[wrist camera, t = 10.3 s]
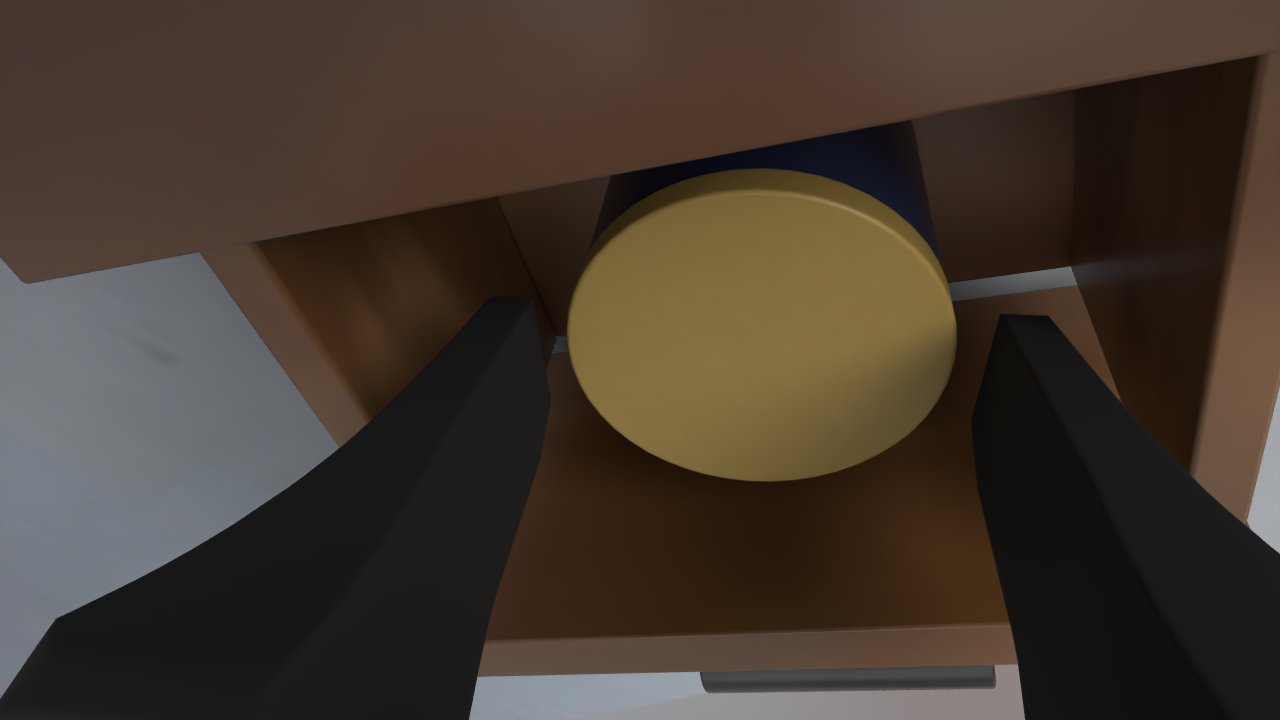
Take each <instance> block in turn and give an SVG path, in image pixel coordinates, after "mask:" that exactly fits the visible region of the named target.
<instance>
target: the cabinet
mask: <svg viewBox="0 0 1280 720" xmlns="http://www.w3.org/2000/svg"><path fill="white" fill-rule="evenodd" d="M1279 51H1280V0H0V258H1V259H2V260H3V261H4V262H5V263H6V264H7V265H8V266H9V268H10V269H11V270H12V271H13V272H14V273H15V274H16V275H17V277H18V278H19V279H20V280H21V281H22V282H24V283H27V284H29V283H35V282H40V281H46V280H51V279H56V278H62V277H67V276H73V275H78V274H83V273H89V272H94V271H99V270H105V269H110V268H116V267H121V266H126V265H132V264H137V263H143V262H148V261H153V260H159V259H164V258H169V257H175V256H180V255H186V254H191V253H196V252H202V251H207V250H213V249H218V248H223V247H229V246H234V245H239V244H245V243H250V242H256V241H261V240H266V239H272V238H277V237H283V236H288V235H293V234H299V233H304V232H309V231H315V230H320V229H326V228H331V227H336V226H342V225H347V224H353V223H358V222H363V221H369V220H374V219H379V218H385V217H390V216H396V215H401V214H406V213H412V212H417V211H423V210H428V209H433V208H439V207H444V206H449V205H455V204H460V203H466V202H471V201H476V200H482V199H487V198H493V197H498V196H503V195H509V194H514V193H519V192H525V191H530V190H536V189H541V188H546V187H552V186H557V185H563V184H568V183H573V182H579V181H584V180H589V179H595V178H600V177H606V176H611V175H616V174H622V173H627V172H633V171H638V170H643V169H649V168H654V167H660V166H665V165H670V164H676V163H681V162H686V161H692V160H697V159H703V158H708V157H713V156H719V155H724V154H730V153H735V152H740V151H746V150H751V149H756V148H762V147H767V146H773V145H778V144H783V143H789V142H794V141H800V140H805V139H810V138H816V137H821V136H826V135H832V134H837V133H843V132H848V131H853V130H859V129H864V128H870V127H875V126H880V125H886V124H891V123H896V122H902V121H907V120H913V119H918V118H923V117H929V116H934V115H940V114H945V113H950V112H956V111H961V110H966V109H972V108H977V107H983V106H988V105H993V104H999V103H1004V102H1010V101H1015V100H1020V99H1026V98H1031V97H1036V96H1042V95H1047V94H1053V93H1058V92H1063V91H1069V90H1074V89H1080V88H1085V87H1090V86H1096V85H1101V84H1106V83H1112V82H1117V81H1123V80H1128V79H1133V78H1139V77H1144V76H1150V75H1155V74H1160V73H1166V72H1171V71H1176V70H1182V69H1187V68H1193V67H1198V66H1203V65H1209V64H1214V63H1220V62H1225V61H1230V60H1236V59H1241V58H1247V57H1252V56H1257V55H1263V54H1268V53H1273V52H1279Z"/></svg>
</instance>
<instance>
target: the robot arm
mask: <svg viewBox="0 0 1280 720" xmlns="http://www.w3.org/2000/svg"><path fill="white" fill-rule="evenodd" d="M550 403H551V397H550V391H549V386H548V380H547V374H546V369H545V363H544V357H543V352H542V346H541V340H540V335H539V329H538V323H537V318H536V312H535V306H534V300H533V298H527V297H498V296H492V297H491V298H490V299H489V300H488V301H486V302H485V304H484V305H483V306H482V307H481V308H480V309H479V310H478V311H477V312H476V313H475V314H474V315H473V316H472V317H471V318H470V320H469V321H468V322H467V323H466V324H465V325H464V326H463V327H462V328H461V329H460V330H459V332H458V333H457V334H456V335H455V336H454V337H453V338H452V339H451V340H450V341H449V342H448V344H447V345H446V346H445V347H444V348H443V349H442V350H441V351H440V352H439V353H438V354H437V355H436V356H435V357H434V359H433V360H432V361H431V362H430V363H429V364H428V365H427V366H426V367H425V368H424V369H423V370H422V371H421V372H420V373H419V374H418V375H417V376H416V377H415V378H414V379H413V380H412V381H411V382H410V383H409V384H408V385H407V386H406V387H405V388H404V389H403V390H402V391H401V392H400V393H399V394H398V395H397V396H396V397H395V398H394V399H393V400H392V401H391V402H390V403H389V404H388V405H387V406H386V407H384V408H383V409H382V410H381V411H380V412H379V413H378V414H377V415H376V416H375V417H374V418H373V419H372V420H370V421H369V422H368V423H367V424H366V425H365V426H364V427H363V428H362V429H361V430H360V431H359V432H357V433H356V434H355V435H354V436H353V437H352V438H351V439H349V440H348V441H347V442H346V443H345V444H344V445H342V446H341V447H340V448H339V449H338V450H337V451H335V452H334V453H333V454H332V455H330V456H329V457H328V458H327V459H325V460H324V461H323V462H321V463H320V464H319V465H318V466H316V467H315V468H314V469H312V470H311V471H310V472H308V473H307V474H306V475H305V476H303V477H302V478H301V479H299V480H298V481H297V482H295V483H294V484H292V485H291V486H290V487H288V488H287V489H285V490H284V491H282V492H281V493H279V494H278V495H276V496H275V497H273V498H272V499H270V500H269V501H267V502H266V503H265V504H263V505H262V506H260V507H259V508H257V509H256V510H254V511H253V512H251V513H250V514H248V515H247V516H245V517H244V518H242V519H241V520H239V521H238V522H236V523H235V524H233V525H232V526H230V527H229V528H227V529H225V530H224V531H222V532H220V533H219V534H217V535H215V536H214V537H212V538H210V539H209V540H207V541H205V542H204V543H202V544H200V545H199V546H197V547H195V548H194V549H192V550H190V551H188V552H186V553H185V554H183V555H181V556H179V557H178V558H176V559H174V560H172V561H170V562H169V563H167V564H165V565H163V566H162V567H160V568H158V569H156V570H154V571H152V572H150V573H148V574H147V575H145V576H143V577H141V578H139V579H137V580H135V581H133V582H131V583H129V584H127V585H125V586H123V587H121V588H119V589H117V590H115V591H113V592H111V593H108V594H106V595H104V596H102V597H100V598H98V599H96V600H94V601H92V602H90V603H88V604H86V605H84V606H82V607H80V608H78V609H76V610H74V611H72V612H70V613H67V614H65V615H63V616H61V617H59V618H56V620H55V621H54V623H53V624H52V625H51V627H50V628H49V629H48V631H47V632H46V633H45V635H44V636H43V638H42V639H41V641H40V642H39V644H38V645H37V646H36V648H35V649H34V651H33V652H32V654H31V655H30V657H29V658H28V660H27V661H26V662H25V664H24V665H23V667H22V668H21V670H20V671H19V673H18V674H17V676H16V677H15V678H14V680H13V681H12V683H11V684H10V686H9V687H8V689H7V690H6V692H5V693H4V695H3V696H2V697H1V699H0V720H469V716H470V711H471V706H472V701H473V696H474V691H475V686H476V681H477V676H478V671H479V667H480V662H481V657H482V653H483V648H484V643H485V639H486V634H487V629H488V625H489V620H490V616H491V613H492V609H493V606H494V602H495V598H496V595H497V591H498V588H499V585H500V582H501V579H502V576H503V573H504V570H505V567H506V564H507V561H508V558H509V555H510V552H511V549H512V545H513V542H514V539H515V536H516V533H517V530H518V527H519V524H520V521H521V518H522V515H523V512H524V509H525V506H526V503H527V500H528V497H529V493H530V490H531V487H532V484H533V481H534V478H535V475H536V471H537V468H538V465H539V462H540V457H541V452H542V447H543V442H544V437H545V432H546V426H547V420H548V415H549V409H550ZM971 429H972V440H973V451H974V461H975V470H976V479H977V488H978V492H979V497H980V501H981V505H982V510H983V514H984V518H985V522H986V527H987V531H988V535H989V539H990V544H991V548H992V552H993V556H994V560H995V564H996V568H997V572H998V577H999V581H1000V585H1001V589H1002V593H1003V597H1004V601H1005V606H1006V610H1007V614H1008V618H1009V622H1010V626H1011V630H1012V635H1013V640H1014V645H1015V651H1016V656H1017V661H1018V667H1019V675H1020V683H1021V690H1022V698H1023V706H1024V714H1025V720H1280V554H1279V553H1278V552H1277V551H1275V550H1274V549H1273V548H1272V547H1271V546H1269V545H1268V544H1267V543H1266V542H1265V541H1263V540H1262V539H1261V538H1260V537H1259V536H1258V535H1256V534H1255V533H1254V532H1253V531H1252V530H1251V529H1249V528H1248V527H1247V526H1246V525H1245V524H1243V523H1242V522H1241V521H1240V520H1239V519H1238V518H1236V517H1235V516H1234V515H1233V514H1232V513H1231V512H1229V511H1228V510H1227V509H1226V508H1225V507H1224V506H1223V505H1222V504H1220V503H1219V502H1218V501H1217V500H1216V499H1215V498H1214V497H1213V496H1212V495H1211V494H1209V493H1208V492H1207V491H1206V490H1205V489H1204V488H1203V487H1202V486H1201V485H1200V484H1199V483H1198V482H1197V481H1196V480H1195V479H1194V478H1193V477H1192V476H1191V475H1190V474H1189V473H1188V472H1187V471H1186V470H1185V469H1184V468H1183V467H1182V466H1181V465H1180V464H1179V463H1178V462H1176V461H1175V460H1174V459H1173V458H1172V457H1171V456H1170V455H1169V454H1168V453H1167V452H1166V451H1165V449H1164V448H1163V447H1162V446H1161V445H1160V444H1159V443H1158V442H1157V441H1156V440H1155V439H1154V438H1153V437H1152V436H1151V435H1150V434H1149V432H1148V431H1147V430H1146V429H1145V428H1144V427H1143V426H1142V425H1141V424H1140V422H1139V421H1138V420H1137V419H1136V418H1135V417H1134V416H1133V415H1132V414H1131V413H1130V411H1129V410H1128V409H1127V408H1126V407H1125V406H1124V405H1123V404H1122V403H1121V401H1120V400H1119V399H1118V398H1117V397H1116V396H1115V394H1114V393H1113V392H1112V391H1111V390H1110V389H1109V388H1108V386H1107V385H1106V384H1105V383H1104V382H1103V380H1102V379H1101V378H1100V377H1099V376H1098V374H1097V373H1096V372H1095V371H1094V370H1093V369H1092V367H1091V366H1090V365H1089V364H1088V363H1087V361H1086V360H1085V359H1084V358H1083V356H1082V355H1081V354H1080V353H1079V352H1078V350H1077V349H1076V348H1075V347H1074V346H1073V344H1072V343H1071V342H1070V341H1069V339H1068V338H1067V337H1066V336H1065V335H1064V333H1063V332H1062V331H1061V330H1060V329H1059V327H1058V326H1057V325H1056V324H1055V323H1054V322H1053V320H1052V319H1051V318H1050V317H1049V316H1046V315H1017V314H1000V316H999V320H998V323H997V327H996V331H995V334H994V338H993V342H992V345H991V349H990V353H989V356H988V360H987V364H986V367H985V371H984V375H983V378H982V382H981V386H980V389H979V393H978V397H977V401H976V404H975V408H974V412H973V415H972V419H971Z"/></svg>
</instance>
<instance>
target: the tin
mask: <svg viewBox="0 0 1280 720" xmlns="http://www.w3.org/2000/svg"><path fill="white" fill-rule="evenodd" d="M566 337H567V348H568V352H569V357H570V361H571V365H572V368H573V370H574V373H575V375H576V378H577V380H578V382H579V385H580V386H581V388H582V390H583V391H584V393H585V395H586V396H587V398H588V400H589V401H590V402H591V404H592V405H593V406H594V407H595V409H596V410H597V411H598V413H599V414H600V415H601V416H602V417H603V418H604V419H605V420H606V421H607V422H608V423H609V424H610V425H611V426H612V427H613V428H614V429H615V430H617V431H618V432H619V433H620V434H622V435H623V436H624V437H626V438H627V439H628V440H629V441H631V442H632V443H634V444H636V445H637V446H639V447H640V448H642V449H644V450H645V451H647V452H649V453H651V454H653V455H655V456H657V457H659V458H661V459H663V460H665V461H667V462H669V463H672V464H675V465H677V466H680V467H683V468H685V469H688V470H692V471H695V472H699V473H703V474H706V475H711V476H716V477H721V478H727V479H735V480H744V481H769V482H773V481H789V480H798V479H805V478H811V477H817V476H821V475H825V474H829V473H833V472H837V471H840V470H843V469H846V468H849V467H852V466H855V465H857V464H860V463H862V462H864V461H866V460H868V459H870V458H873V457H875V456H877V455H879V454H880V453H882V452H884V451H885V450H887V449H889V448H890V447H892V446H893V445H895V444H896V443H898V442H899V441H900V440H902V439H903V438H904V437H905V436H907V435H908V434H909V433H911V432H912V431H913V430H914V429H915V428H916V427H917V426H918V425H919V424H920V423H921V422H922V421H923V420H924V419H925V418H926V417H927V415H928V414H929V412H930V411H931V410H932V408H933V407H934V406H935V404H936V403H937V402H938V400H939V398H940V396H941V394H942V392H943V391H944V389H945V387H946V385H947V383H948V381H949V377H950V374H951V371H952V368H953V365H954V362H955V355H956V348H957V324H956V318H955V314H954V309H953V304H952V299H951V295H950V290H949V286H948V282H947V279H946V277H945V274H944V272H943V270H942V267H941V263H940V257H939V252H938V247H937V242H936V237H935V232H934V227H933V222H932V217H931V212H930V207H929V202H928V196H927V191H926V186H925V181H924V176H923V171H922V166H921V161H920V156H919V151H918V146H917V141H916V137H915V132H914V128H913V125H912V122H911V120H907V121H902V122H896V123H891V124H886V125H880V126H875V127H870V128H864V129H859V130H853V131H848V132H843V133H837V134H832V135H826V136H821V137H816V138H810V139H805V140H800V141H794V142H789V143H783V144H778V145H773V146H767V147H762V148H756V149H751V150H746V151H740V152H735V153H730V154H724V155H719V156H713V157H708V158H703V159H697V160H692V161H686V162H681V163H676V164H670V165H665V166H660V167H654V168H649V169H643V170H638V171H633V172H627V173H622V174H616V175H611V176H610V180H609V183H608V187H607V190H606V193H605V197H604V200H603V204H602V207H601V210H600V214H599V217H598V221H597V224H596V228H595V231H594V234H593V238H592V241H591V245H590V248H589V251H588V254H587V256H586V258H585V260H584V262H583V264H582V266H581V268H580V270H579V273H578V276H577V280H576V283H575V287H574V290H573V293H572V297H571V300H570V304H569V307H568V313H567V323H566Z"/></svg>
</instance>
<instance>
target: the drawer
mask: <svg viewBox="0 0 1280 720" xmlns="http://www.w3.org/2000/svg"><path fill="white" fill-rule="evenodd" d="M911 122H912V125H913V128H914V132H915V137H916V141H917V146H918V151H919V156H920V161H921V166H922V171H923V176H924V181H925V186H926V191H927V196H928V202H929V207H930V212H931V217H932V222H933V227H934V232H935V237H936V242H937V247H938V252H939V257H940V263H941V267H942V270H943V272H944V274H945V277H946V279H947V282H948V283H951V282H959V281H966V280H974V279H981V278H988V277H996V276H1003V275H1010V274H1018V273H1025V272H1033V271H1040V270H1047V269H1055V268H1062V267H1069V266H1071V268H1072V271H1073V274H1074V276H1075V279H1076V282H1077V284H1078V285H1076V286H1068V287H1061V288H1053V289H1045V290H1037V291H1030V292H1022V293H1014V294H1007V295H999V296H991V297H984V298H976V299H968V300H961V301H953V302H952V304H953V309H954V314H955V318H956V324H957V348H956V355H955V362H954V365H953V368H952V371H951V374H950V377H949V381H948V383H947V385H946V387H945V389H944V391H943V392H942V394H941V396H940V398H939V400H938V402H937V403H936V404H935V406H934V407H933V408H932V410H931V411H930V412H929V414H928V415H927V417H926V418H925V419H924V420H923V421H922V422H921V423H920V424H919V425H918V426H917V427H916V428H915V429H914V430H913V431H912V432H911V433H909V434H908V435H907V436H905V437H904V438H903V439H902V440H900V441H899V442H898V443H896V444H895V445H893V446H892V447H890V448H889V449H887V450H885V451H884V452H882V453H880V454H879V455H877V456H875V457H873V458H870V459H868V460H866V461H864V462H862V463H860V464H857V465H855V466H852V467H849V468H846V469H843V470H840V471H837V472H833V473H829V474H825V475H821V476H817V477H811V478H805V479H798V480H789V481H773V482H769V481H744V480H735V479H727V478H721V477H716V476H711V475H706V474H703V473H699V472H695V471H692V470H688V469H685V468H683V467H680V466H677V465H675V464H672V463H669V462H667V461H665V460H663V459H661V458H659V457H657V456H655V455H653V454H651V453H649V452H647V451H645V450H644V449H642V448H640V447H639V446H637V445H636V444H634V443H632V442H631V441H629V440H628V439H627V438H626V437H624V436H623V435H622V434H620V433H619V432H618V431H617V430H615V429H614V428H613V427H612V426H611V425H610V424H609V423H608V422H607V421H606V420H605V419H604V418H603V417H602V416H601V415H600V414H599V413H598V411H597V410H596V409H595V407H594V406H593V405H592V404H591V402H590V401H589V400H588V398H587V396H586V395H585V393H584V391H583V390H582V388H581V386H580V385H579V382H578V380H577V378H576V375H575V373H574V370H573V368H572V365H571V361H570V357H569V352H561V353H553V354H552V351H553V348H554V344H555V341H556V336H561V335H566V323H567V313H568V307H569V304H570V300H571V297H572V293H573V290H574V287H575V283H576V280H577V276H578V273H579V270H580V268H581V266H582V264H583V262H584V260H585V258H586V256H587V254H588V251H589V248H590V245H591V241H592V238H593V234H594V231H595V228H596V224H597V221H598V217H599V214H600V210H601V207H602V204H603V200H604V197H605V193H606V190H607V187H608V183H609V180H610V176H606V177H600V178H595V179H589V180H584V181H579V182H573V183H568V184H563V185H557V186H552V187H546V188H541V189H536V190H530V191H525V192H519V193H514V194H509V195H503V196H498V197H493V198H487V199H482V200H476V201H471V202H466V203H460V204H455V205H449V206H444V207H439V208H433V209H428V210H423V211H417V212H412V213H406V214H401V215H396V216H390V217H385V218H379V219H374V220H369V221H363V222H358V223H353V224H347V225H342V226H336V227H331V228H326V229H320V230H315V231H309V232H304V233H299V234H293V235H288V236H283V237H277V238H272V239H266V240H261V241H256V242H250V243H245V244H239V245H234V246H229V247H223V248H218V249H213V250H207V251H202V252H200V254H201V255H202V256H203V258H204V259H205V261H206V262H207V263H208V265H209V266H210V268H211V269H212V270H213V272H214V273H215V274H216V276H217V277H218V279H219V280H220V281H221V283H222V284H223V286H224V287H225V288H226V290H227V291H228V293H229V294H230V295H231V297H232V298H233V300H234V301H235V302H236V304H237V305H238V307H239V308H240V309H241V311H242V312H243V314H244V315H245V316H246V318H247V319H248V321H249V322H250V323H251V325H252V326H253V327H254V329H255V330H256V332H257V333H258V334H259V336H260V337H261V339H262V340H263V341H264V343H265V344H266V346H267V347H268V348H269V350H270V351H271V353H272V354H273V355H274V357H275V358H276V360H277V361H278V362H279V364H280V365H281V367H282V368H283V369H284V371H285V372H286V374H287V375H288V376H289V378H290V379H291V381H292V382H293V383H294V385H295V386H296V387H297V389H298V390H299V392H300V393H301V394H302V396H303V397H304V399H305V400H306V401H307V403H308V404H309V406H310V407H311V408H312V410H313V411H314V413H315V414H316V415H317V417H318V418H319V420H320V421H321V422H322V424H323V425H324V427H325V428H326V429H327V431H328V432H329V434H330V435H331V436H332V438H333V439H334V440H335V442H336V443H337V445H338V446H339V447H341V446H342V445H344V444H345V443H346V442H347V441H348V440H349V439H351V438H352V437H353V436H354V435H355V434H356V433H357V432H359V431H360V430H361V429H362V428H363V427H364V426H365V425H366V424H367V423H368V422H369V421H370V420H372V419H373V418H374V417H375V416H376V415H377V414H378V413H379V412H380V411H381V410H382V409H383V408H384V407H386V406H387V405H388V404H389V403H390V402H391V401H392V400H393V399H394V398H395V397H396V396H397V395H398V394H399V393H400V392H401V391H402V390H403V389H404V388H405V387H406V386H407V385H408V384H409V383H410V382H411V381H412V380H413V379H414V378H415V377H416V376H417V375H418V374H419V373H420V372H421V371H422V370H423V369H424V368H425V367H426V366H427V365H428V364H429V363H430V362H431V361H432V360H433V359H434V357H435V356H436V355H437V354H438V353H439V352H440V351H441V350H442V349H443V348H444V347H445V346H446V345H447V344H448V342H449V341H450V340H451V339H452V338H453V337H454V336H455V335H456V334H457V333H458V332H459V330H460V329H461V328H462V327H463V326H464V325H465V324H466V323H467V322H468V321H469V320H470V318H471V317H472V316H473V315H474V314H475V313H476V312H477V311H478V310H479V309H480V308H481V307H482V306H483V305H484V304H485V302H486V301H488V300H489V299H490V298H491V297H492V296H498V297H527V298H533V300H534V306H535V312H536V318H537V323H538V329H539V335H540V340H541V346H542V352H543V357H544V363H545V369H546V374H547V380H548V386H549V391H550V397H551V403H550V409H549V415H548V420H547V426H546V432H545V437H544V442H543V447H542V452H541V457H540V462H539V465H538V468H537V471H536V475H535V478H534V481H533V484H532V487H531V490H530V493H529V497H528V500H527V503H526V506H525V509H524V512H523V515H522V518H521V521H520V524H519V527H518V530H517V533H516V536H515V539H514V542H513V545H512V549H511V552H510V555H509V558H508V561H507V564H506V567H505V570H504V573H503V576H502V579H501V582H500V585H499V588H498V591H497V595H496V598H495V602H494V606H493V609H492V613H491V616H490V620H489V625H488V629H487V634H486V639H485V643H484V648H483V653H482V657H481V662H480V667H479V671H478V676H477V677H489V676H532V675H576V674H619V673H662V672H700V676H701V681H702V684H703V687H704V689H705V691H706V692H708V693H748V692H749V693H751V692H812V691H813V692H814V691H874V690H875V691H876V690H934V689H935V690H936V689H993V688H995V686H996V677H995V667H994V665H1008V664H1018V661H1017V656H1016V651H1015V645H1014V640H1013V635H1012V630H1011V626H1010V622H1009V618H1008V614H1007V610H1006V606H1005V601H1004V597H1003V593H1002V589H1001V585H1000V581H999V577H998V572H997V568H996V564H995V560H994V556H993V552H992V548H991V544H990V539H989V535H988V531H987V527H986V522H985V518H984V514H983V510H982V505H981V501H980V497H979V492H978V488H977V479H976V470H975V461H974V451H973V440H972V429H971V419H972V415H973V412H974V408H975V404H976V401H977V397H978V393H979V389H980V386H981V382H982V378H983V375H984V371H985V367H986V364H987V360H988V356H989V353H990V349H991V345H992V342H993V338H994V334H995V331H996V327H997V323H998V320H999V316H1000V314H1017V315H1046V316H1049V317H1050V318H1051V319H1052V320H1053V322H1054V323H1055V324H1056V325H1057V326H1058V327H1059V329H1060V330H1061V331H1062V332H1063V333H1064V335H1065V336H1066V337H1067V338H1068V339H1069V341H1070V342H1071V343H1072V344H1073V346H1074V347H1075V348H1076V349H1077V350H1078V352H1079V353H1080V354H1081V355H1082V356H1083V358H1084V359H1085V360H1086V361H1087V363H1088V364H1089V365H1090V366H1091V367H1092V369H1093V370H1094V371H1095V372H1096V373H1097V374H1098V376H1099V377H1100V378H1101V379H1102V380H1103V382H1104V383H1105V384H1106V385H1107V386H1108V388H1109V389H1110V390H1111V391H1112V392H1113V393H1114V394H1115V396H1116V397H1117V398H1118V399H1119V400H1120V401H1121V403H1122V404H1123V405H1124V406H1125V407H1126V408H1127V409H1128V410H1129V411H1130V413H1131V414H1132V415H1133V416H1134V417H1135V418H1136V419H1137V420H1138V421H1139V422H1140V424H1141V425H1142V426H1143V427H1144V428H1145V429H1146V430H1147V431H1148V432H1149V434H1150V435H1151V436H1152V437H1153V438H1154V439H1155V440H1156V441H1157V442H1158V443H1159V444H1160V445H1161V446H1162V447H1163V448H1164V449H1165V451H1166V452H1167V453H1168V454H1169V455H1170V456H1171V457H1172V458H1173V459H1174V460H1175V461H1176V462H1178V463H1179V464H1180V465H1181V466H1182V467H1183V468H1184V469H1185V470H1186V471H1187V472H1188V473H1189V474H1190V475H1191V476H1192V477H1193V478H1194V479H1195V480H1196V481H1197V482H1198V483H1199V484H1200V485H1201V486H1202V487H1203V488H1204V489H1205V490H1206V491H1207V492H1208V493H1209V494H1211V495H1212V496H1213V497H1214V498H1215V499H1216V500H1217V501H1218V502H1219V503H1220V504H1222V505H1223V506H1224V507H1225V508H1226V509H1227V510H1228V511H1229V512H1231V513H1232V514H1233V515H1234V516H1235V517H1236V518H1238V519H1239V520H1240V521H1241V522H1242V523H1243V524H1245V525H1246V526H1247V527H1248V528H1249V529H1250V527H1249V524H1248V522H1247V518H1248V514H1249V510H1250V506H1251V502H1252V497H1253V493H1254V489H1255V485H1256V481H1257V477H1258V473H1259V469H1260V464H1261V460H1262V456H1263V452H1264V448H1265V444H1266V440H1267V436H1268V431H1269V427H1270V423H1271V419H1272V415H1273V411H1274V407H1275V403H1276V398H1277V394H1278V390H1279V386H1280V51H1279V52H1273V53H1268V54H1263V55H1257V56H1252V57H1247V58H1241V59H1236V60H1230V61H1225V62H1220V63H1214V64H1209V65H1203V66H1198V67H1193V68H1187V69H1182V70H1176V71H1171V72H1166V73H1160V74H1155V75H1150V76H1144V77H1139V78H1133V79H1128V80H1123V81H1117V82H1112V83H1106V84H1101V85H1096V86H1090V87H1085V88H1080V89H1074V90H1069V91H1063V92H1058V93H1053V94H1047V95H1042V96H1036V97H1031V98H1026V99H1020V100H1015V101H1010V102H1004V103H999V104H993V105H988V106H983V107H977V108H972V109H966V110H961V111H956V112H950V113H945V114H940V115H934V116H929V117H923V118H918V119H913V120H911Z"/></svg>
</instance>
